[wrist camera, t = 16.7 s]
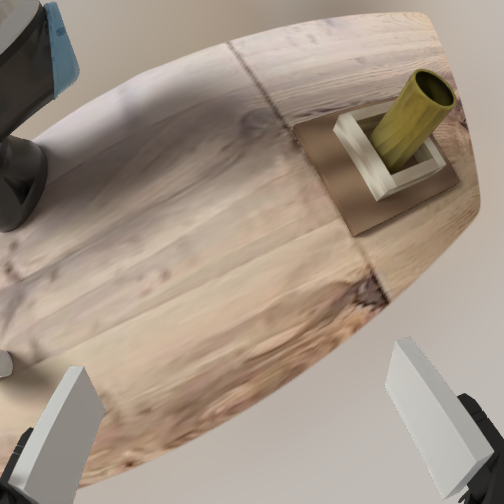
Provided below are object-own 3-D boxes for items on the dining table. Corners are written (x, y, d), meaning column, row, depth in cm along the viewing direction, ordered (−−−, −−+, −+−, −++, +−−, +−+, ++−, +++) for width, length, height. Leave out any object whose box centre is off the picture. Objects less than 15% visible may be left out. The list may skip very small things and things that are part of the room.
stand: (292, 131, 38) (297, 109, 34) (399, 100, 40) (411, 81, 35) (352, 237, 36) (367, 225, 31) (455, 185, 37) (473, 172, 33)
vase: (371, 126, 37) (413, 57, 23) (409, 148, 37) (461, 87, 23) (359, 157, 36) (404, 88, 22) (399, 181, 36) (458, 123, 22)
